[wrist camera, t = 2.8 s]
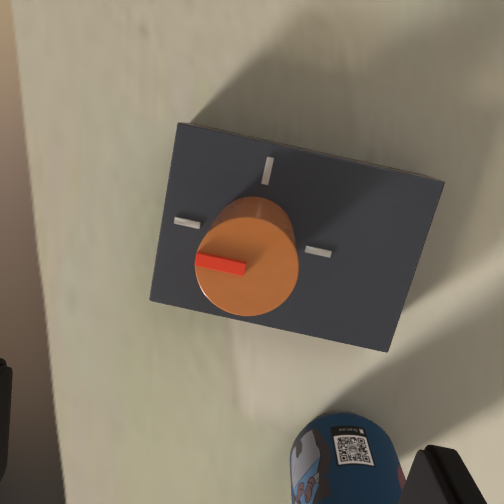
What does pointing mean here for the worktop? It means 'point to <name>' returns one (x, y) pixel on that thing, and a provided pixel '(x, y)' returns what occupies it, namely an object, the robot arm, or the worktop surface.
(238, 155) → the cooker panel
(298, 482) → the soda can
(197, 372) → the worktop surface
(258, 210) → the knob
